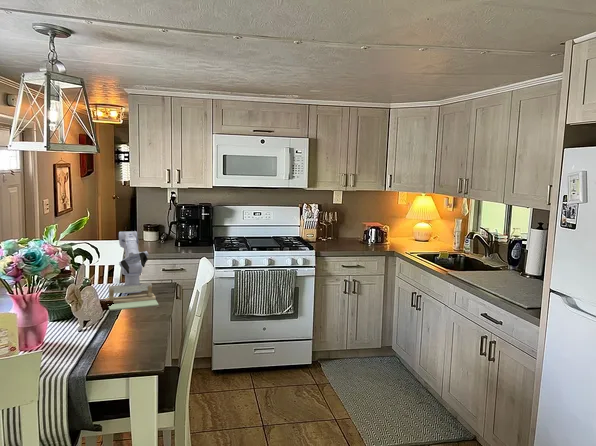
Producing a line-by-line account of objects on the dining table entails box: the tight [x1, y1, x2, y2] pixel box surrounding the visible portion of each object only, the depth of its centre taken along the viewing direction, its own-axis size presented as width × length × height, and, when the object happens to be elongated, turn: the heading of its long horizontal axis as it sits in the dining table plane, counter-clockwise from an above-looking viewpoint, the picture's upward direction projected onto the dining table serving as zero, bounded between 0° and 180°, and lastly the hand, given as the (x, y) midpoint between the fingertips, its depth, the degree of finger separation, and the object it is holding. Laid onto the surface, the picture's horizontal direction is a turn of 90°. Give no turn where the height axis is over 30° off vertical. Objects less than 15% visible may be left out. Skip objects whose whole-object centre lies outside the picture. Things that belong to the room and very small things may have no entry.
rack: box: [104, 285, 157, 304], centre depth 237 cm, size 7×23×6 cm, turn 117°
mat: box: [108, 299, 159, 312], centre depth 229 cm, size 8×22×1 cm, turn 117°
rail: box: [108, 282, 153, 295], centre depth 237 cm, size 20×3×3 cm, turn 117°
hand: (135, 268), depth 233 cm, fingers open, 7 cm apart
